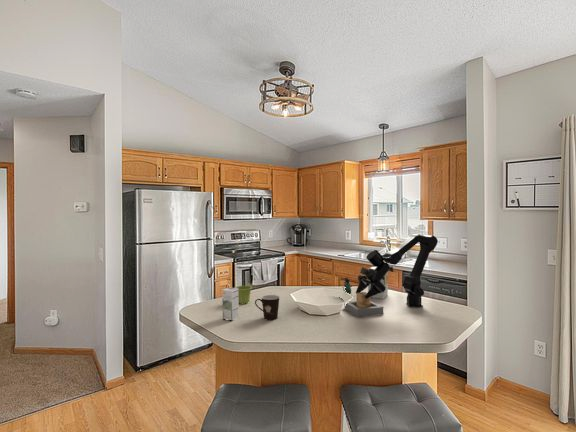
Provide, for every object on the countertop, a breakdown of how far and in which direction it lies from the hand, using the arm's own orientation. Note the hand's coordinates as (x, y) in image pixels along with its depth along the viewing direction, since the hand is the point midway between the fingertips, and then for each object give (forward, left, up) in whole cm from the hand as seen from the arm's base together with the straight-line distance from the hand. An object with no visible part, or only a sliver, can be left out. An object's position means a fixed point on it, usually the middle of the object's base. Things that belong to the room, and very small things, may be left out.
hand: (360, 295), depth 163 cm
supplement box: (-19, -27, -8) cm, 34 cm away
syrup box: (+65, +3, -8) cm, 65 cm away
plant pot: (+60, -24, -8) cm, 65 cm away
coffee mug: (+47, +3, -8) cm, 47 cm away
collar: (-1, 0, -8) cm, 8 cm away
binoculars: (+1, -30, -8) cm, 31 cm away
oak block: (-1, 0, -8) cm, 8 cm away
